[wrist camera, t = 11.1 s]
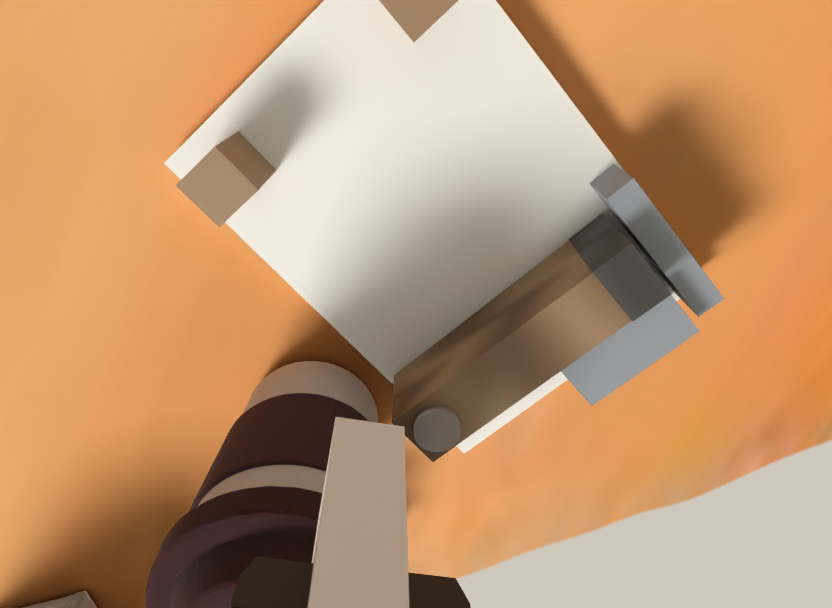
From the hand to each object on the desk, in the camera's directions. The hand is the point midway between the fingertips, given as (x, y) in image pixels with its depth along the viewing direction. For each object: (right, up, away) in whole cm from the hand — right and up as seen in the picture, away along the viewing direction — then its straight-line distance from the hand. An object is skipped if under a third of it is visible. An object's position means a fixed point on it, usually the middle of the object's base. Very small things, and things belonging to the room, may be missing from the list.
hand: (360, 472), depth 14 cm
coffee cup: (-5, -2, +23) cm, 24 cm away
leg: (+6, +3, +19) cm, 21 cm away
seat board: (+3, +8, +19) cm, 20 cm away
